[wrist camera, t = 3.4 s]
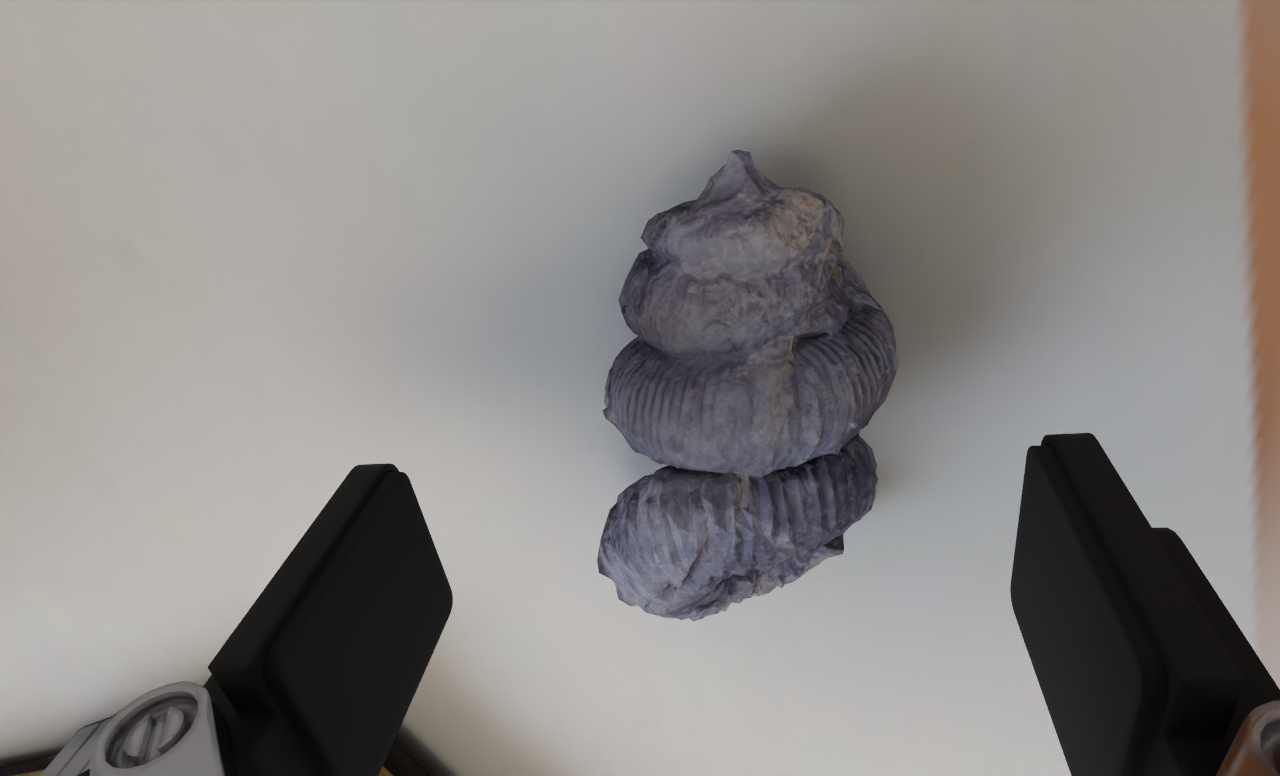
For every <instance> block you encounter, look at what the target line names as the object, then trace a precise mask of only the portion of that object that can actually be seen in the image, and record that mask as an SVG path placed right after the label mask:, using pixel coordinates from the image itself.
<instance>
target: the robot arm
mask: <svg viewBox="0 0 1280 776" xmlns="http://www.w3.org/2000/svg"><path fill="white" fill-rule="evenodd" d="M452 600H453V598H452V591H451V588H450V585H449V582H448V580H447V577H446V575H445V572H444V569H443V567H442V564H441V561H440V559H439V556H438V554H437V551H436V548H435V546H434V543H433V540H432V538H431V535H430V532H429V530H428V527H427V525H426V522H425V519H424V517H423V514H422V511H421V509H420V506H419V504H418V501H417V498H416V496H415V493H414V490H413V488H412V485H411V482H410V480H409V478H408V476H407V475H406V474H405V473H403V472H399V471H398V469H397V468H396V467H395V466H394V465H393V464H369V465H358V466H355V467H354V468H353V469H352V470H351V471H350V473H349V474H348V475H347V477H346V478H345V479H344V481H343V482H342V484H341V485H340V486H339V488H338V489H337V490H336V492H335V493H334V495H333V496H332V497H331V499H330V500H329V501H328V503H327V504H326V505H325V507H324V508H323V510H322V511H321V512H320V514H319V515H318V516H317V518H316V519H315V521H314V522H313V523H312V525H311V526H310V527H309V529H308V530H307V532H306V533H305V534H304V536H303V537H302V538H301V540H300V541H299V543H298V544H297V545H296V547H295V548H294V549H293V551H292V552H291V553H290V555H289V556H288V558H287V559H286V560H285V562H284V563H283V564H282V566H281V567H280V569H279V570H278V571H277V573H276V574H275V575H274V577H273V578H272V580H271V581H270V582H269V584H268V585H267V586H266V588H265V589H264V590H263V592H262V593H261V595H260V596H259V597H258V599H257V600H256V601H255V603H254V604H253V606H252V607H251V608H250V610H249V611H248V612H247V614H246V615H245V617H244V618H243V619H242V621H241V622H240V623H239V625H238V626H237V628H236V629H235V630H234V632H233V633H232V634H231V636H230V637H229V638H228V640H227V641H226V643H225V644H224V645H223V647H222V648H221V649H220V651H219V652H218V654H217V655H216V656H215V658H214V659H213V660H212V662H211V663H210V665H209V666H208V669H209V670H210V672H211V673H212V675H211V676H210V678H209V679H208V681H207V682H206V683H205V685H204V686H203V687H202V686H201V685H199V684H197V683H193V682H178V683H172V684H167V685H164V686H162V687H159V688H157V689H154V690H152V691H149V692H147V693H146V694H144V695H142V696H141V697H139V698H137V699H136V700H134V701H132V702H131V703H130V704H129V705H127V706H126V707H125V708H124V709H122V710H121V711H120V712H119V713H118V714H116V715H115V716H114V717H113V719H112V720H111V721H110V722H109V723H108V724H107V725H106V726H105V728H104V729H103V730H102V731H101V733H100V735H99V737H98V738H97V740H96V742H95V744H94V745H93V749H92V753H91V758H90V769H88V770H86V771H84V772H83V773H81V774H79V775H77V776H379V773H380V771H381V769H382V766H383V764H384V762H385V760H386V757H387V755H388V753H389V751H390V748H391V746H392V744H393V742H394V739H395V737H396V735H397V733H398V730H399V728H400V726H401V724H402V721H403V719H404V717H405V715H406V712H407V710H408V708H409V706H410V703H411V701H412V699H413V696H414V694H415V692H416V690H417V687H418V685H419V683H420V681H421V678H422V676H423V674H424V672H425V669H426V667H427V665H428V663H429V660H430V658H431V656H432V654H433V651H434V649H435V647H436V645H437V642H438V640H439V638H440V636H441V633H442V631H443V629H444V626H445V624H446V622H447V620H448V617H449V615H450V612H451V609H452ZM1011 600H1012V606H1013V610H1014V613H1015V616H1016V619H1017V622H1018V624H1019V627H1020V630H1021V633H1022V636H1023V639H1024V642H1025V644H1026V647H1027V650H1028V653H1029V656H1030V659H1031V661H1032V664H1033V667H1034V670H1035V673H1036V676H1037V678H1038V681H1039V684H1040V687H1041V690H1042V693H1043V695H1044V698H1045V701H1046V704H1047V707H1048V710H1049V713H1050V715H1051V718H1052V721H1053V724H1054V727H1055V730H1056V732H1057V735H1058V738H1059V741H1060V744H1061V747H1062V749H1063V752H1064V755H1065V758H1066V761H1067V764H1068V767H1069V769H1070V772H1071V775H1072V776H1280V690H1279V688H1278V687H1277V685H1276V683H1275V682H1274V680H1273V679H1272V677H1271V676H1270V675H1269V673H1268V671H1267V670H1266V668H1265V667H1264V665H1263V664H1262V662H1261V661H1260V659H1259V658H1258V656H1257V654H1256V653H1255V651H1254V650H1253V648H1252V647H1251V645H1250V644H1249V642H1248V641H1247V639H1246V638H1245V636H1244V635H1243V633H1242V632H1241V630H1240V629H1239V627H1238V625H1237V624H1236V622H1235V621H1234V619H1233V618H1232V616H1231V615H1230V613H1229V612H1228V610H1227V609H1226V607H1225V606H1224V604H1223V603H1222V601H1221V599H1220V598H1219V596H1218V595H1217V593H1216V592H1215V590H1214V589H1213V587H1212V586H1211V584H1210V583H1209V581H1208V580H1207V578H1206V577H1205V575H1204V574H1203V572H1202V570H1201V569H1200V567H1199V566H1198V564H1197V563H1196V561H1195V560H1194V558H1193V557H1192V555H1191V554H1190V552H1189V551H1188V549H1187V548H1186V546H1185V544H1184V543H1183V541H1182V540H1181V539H1180V538H1179V536H1178V535H1177V534H1176V533H1175V532H1174V531H1172V530H1170V529H1169V528H1151V526H1150V524H1149V523H1148V521H1147V520H1146V518H1145V516H1144V515H1143V513H1142V511H1141V510H1140V508H1139V507H1138V505H1137V503H1136V502H1135V500H1134V499H1133V497H1132V495H1131V494H1130V492H1129V490H1128V489H1127V487H1126V486H1125V484H1124V482H1123V481H1122V479H1121V478H1120V476H1119V474H1118V473H1117V471H1116V469H1115V468H1114V466H1113V465H1112V463H1111V461H1110V460H1109V458H1108V457H1107V455H1106V453H1105V452H1104V450H1103V448H1102V447H1101V445H1100V444H1099V442H1098V440H1097V439H1096V438H1095V436H1094V435H1093V434H1090V433H1078V434H1055V435H1046V436H1044V438H1043V440H1042V443H1041V446H1030V447H1029V449H1028V452H1027V458H1026V466H1025V474H1024V482H1023V490H1022V498H1021V506H1020V514H1019V522H1018V530H1017V538H1016V546H1015V554H1014V562H1013V571H1012V579H1011Z"/></svg>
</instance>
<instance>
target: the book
mask: <svg viewBox="0 0 1280 776" xmlns="http://www.w3.org/2000/svg"><path fill="white" fill-rule="evenodd" d="M112 719H113V718H110V719H107V720H105V721H102V722H99V723H96V724H94V725H91V726H88V727H85V728H82V729H80V730H78V731H77V732H76V734H75V735H74V736H73V737H72V738H71V740H70V741H69V742H68V743H67V744H66V745H65V747H64V748H63V749H62V750H61V751H60V752H59V754H57V755H55V756H52V757H49V758H44V759H40V760H35V761H30V762H26V763H21V764H16V765H12V766H7V767H2V768H0V776H77V775H79V774H81V773H83V772H84V771H86V770H88V769H90V758H91V753H92V749H93V745H94V744H95V742H96V740H97V738H98V737H99V735H100V733H101V731H102V730H103V729H104V728H105V726H106V725H107V724H108V723H109V722H110V721H111V720H112ZM379 776H427V775H426V774H425V773H424V772H423V771H422V770H421V769H420V768H419V767H418V766H417V765H416V764H414V763H413V762H412V761H411V760H410V759H409V758H408V757H407V756H406V755H405V754H404V753H403V752H402V751H400V750H399V749H398V748H397V747H396V746H395V745H394V744H392V746H391V748H390V751H389V753H388V755H387V757H386V760H385V762H384V764H383V766H382V769H381V771H380V773H379Z"/></svg>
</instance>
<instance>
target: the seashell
mask: <svg viewBox="0 0 1280 776" xmlns="http://www.w3.org/2000/svg"><path fill="white" fill-rule="evenodd" d="M843 226H844V220H843V218H842V216H841V214H840V212H839V211H838V210H837V209H836V208H835V207H834V206H833V204H832V203H831V202H830V201H829V200H827V199H826V198H825V197H823V196H822V195H821V194H818V193H815V192H811V191H808V190H805V189H802V188H783V187H779V186H777V185H776V184H774V183H773V182H771V181H770V180H768V179H767V178H766V177H765V176H764V175H763V174H762V173H761V172H760V171H759V170H757V169H756V168H755V167H754V164H753V160H752V157H751V154H750V152H746V151H740V150H735V151H731V152H730V154H729V157H728V159H727V162H726V164H725V165H724V166H723V167H722V168H721V169H720V170H719V171H718V172H717V173H716V174H715V175H714V176H712V177H710V179H709V181H708V183H707V185H706V187H705V189H704V191H703V192H702V194H701V195H700V196H699V198H698V199H697V200H693V201H688V202H684V203H682V204H680V205H677V206H675V207H673V208H671V209H669V210H667V211H664V212H662V213H658V214H657V215H655V216H654V217H653V218H651V219H650V220H648V222H647V224H646V227H645V229H644V231H643V233H642V236H641V239H642V240H643V241H644V243H645V244H646V245H647V247H648V248H649V249H647V250H645V251H643V252H641V253H639V254H638V256H637V258H636V260H635V262H634V264H633V266H632V268H631V270H630V272H629V274H628V276H627V278H626V280H625V283H624V286H623V288H622V291H621V294H620V297H619V303H620V307H621V311H622V313H623V316H624V319H625V321H626V324H627V326H628V327H629V328H630V329H631V330H632V331H633V332H634V333H635V334H636V335H638V337H637V338H635V339H634V340H633V341H631V342H630V343H629V344H628V345H627V346H626V347H625V348H623V350H622V351H621V352H620V353H619V355H618V356H617V357H616V359H615V361H614V363H613V365H612V367H611V369H610V370H609V374H608V378H607V382H606V386H605V400H604V402H605V404H606V407H607V408H606V409H604V410H603V412H604V415H605V418H606V419H607V420H608V421H610V422H611V423H612V424H614V425H615V426H616V427H617V429H618V430H620V431H621V433H622V435H623V436H624V438H625V439H626V441H627V442H628V444H629V445H630V447H631V448H632V449H633V450H634V451H635V452H638V453H641V454H645V455H647V456H648V457H650V458H651V459H653V460H654V461H656V462H658V463H662V464H667V465H668V466H666V467H663V468H661V469H659V470H657V471H656V472H655V473H654V474H652V475H648V476H644V477H642V478H641V479H640V480H638V481H636V482H635V483H633V484H632V485H630V486H629V487H627V488H626V489H625V490H624V491H623V492H622V493H621V494H619V495H618V499H617V503H616V504H615V505H614V506H613V507H612V508H611V509H610V512H609V515H608V518H607V521H606V524H605V527H604V531H603V534H602V537H601V542H600V548H599V553H598V559H597V561H598V568H599V573H601V574H603V575H604V576H606V577H608V578H610V579H612V580H613V581H614V582H615V585H616V589H617V594H618V598H619V600H621V601H623V602H625V603H626V604H628V605H630V606H635V605H639V606H640V607H641V608H642V609H643V610H644V611H645V612H646V613H650V614H654V615H659V616H662V617H667V618H678V619H681V620H682V619H687V618H690V619H691V620H692V621H695V620H698V619H702V618H704V617H705V616H709V615H713V614H717V613H719V612H720V611H726V609H727V608H728V606H729V605H730V604H731V603H732V602H734V603H741V601H742V600H743V599H745V598H751V596H760V595H763V594H766V593H769V592H771V591H772V590H773V589H774V588H775V587H776V586H778V587H781V588H782V587H783V586H784V584H787V583H790V582H793V581H795V580H796V579H798V578H799V577H801V576H802V575H803V574H804V573H805V572H807V571H808V570H809V569H811V568H813V567H815V566H817V565H818V564H820V563H821V562H822V561H823V560H824V559H826V558H828V557H832V556H836V555H840V554H843V551H844V543H843V534H844V532H845V531H846V530H847V529H848V528H849V527H850V526H851V525H852V524H853V523H855V522H856V521H858V520H860V519H861V518H862V517H863V516H864V515H865V514H866V513H868V512H869V511H870V510H871V508H872V505H873V502H874V499H875V492H876V484H877V480H878V478H877V476H876V467H877V465H876V461H875V458H874V454H873V451H872V448H871V447H870V446H869V445H868V444H867V443H866V442H865V441H864V440H863V439H862V438H861V437H860V436H859V434H858V432H859V431H860V429H862V428H863V427H865V426H867V425H868V423H869V421H870V419H871V417H872V415H873V414H874V413H875V412H876V410H877V409H878V408H879V407H880V406H881V405H882V403H883V402H884V401H885V400H886V397H887V395H888V392H889V390H890V387H891V385H892V382H893V379H894V377H895V374H896V370H897V366H898V361H897V358H896V342H895V337H894V331H893V325H892V323H891V322H890V320H889V318H888V317H887V315H886V314H885V312H884V310H883V309H882V307H881V306H880V305H879V304H878V303H877V302H876V301H875V299H874V298H873V297H872V296H871V295H870V293H869V291H868V289H867V287H866V285H865V283H864V281H863V279H862V277H861V276H860V275H859V274H858V273H857V272H856V271H855V270H854V269H853V268H852V267H851V266H850V265H849V263H848V262H847V261H846V260H845V258H844V257H843V256H842V255H841V253H842V251H843Z"/></svg>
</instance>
